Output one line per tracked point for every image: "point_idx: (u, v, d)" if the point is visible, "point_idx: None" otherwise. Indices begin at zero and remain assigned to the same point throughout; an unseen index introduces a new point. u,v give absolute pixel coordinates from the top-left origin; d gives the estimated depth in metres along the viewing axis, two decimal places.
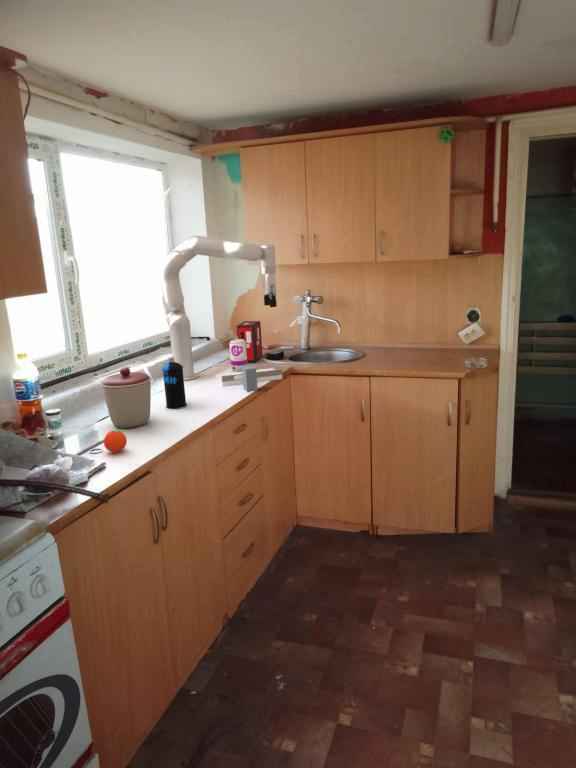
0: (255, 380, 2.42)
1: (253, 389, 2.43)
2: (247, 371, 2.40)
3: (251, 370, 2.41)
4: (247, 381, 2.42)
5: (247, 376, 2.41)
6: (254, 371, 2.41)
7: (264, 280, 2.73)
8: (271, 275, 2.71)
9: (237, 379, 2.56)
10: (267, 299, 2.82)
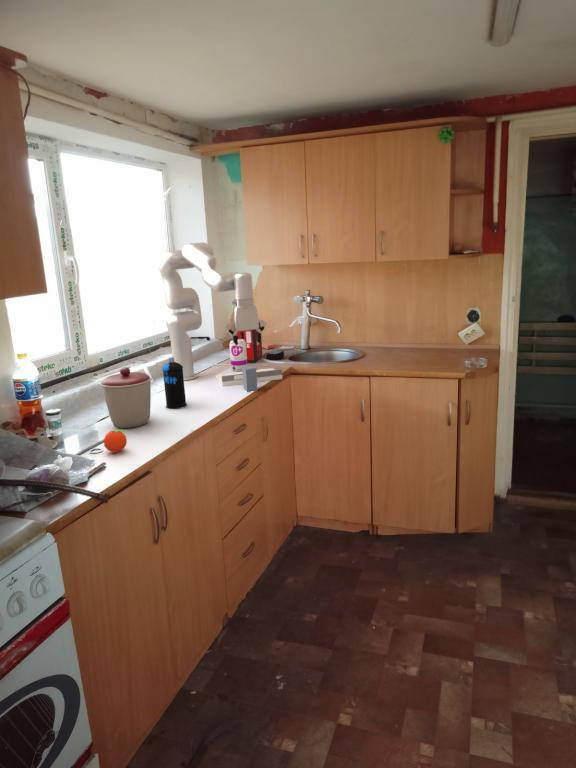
0: (255, 380, 2.42)
1: (253, 389, 2.43)
2: (247, 371, 2.40)
3: (251, 370, 2.41)
4: (247, 381, 2.42)
5: (247, 376, 2.41)
6: (254, 371, 2.41)
7: (251, 313, 2.36)
8: None
9: (237, 379, 2.56)
10: None
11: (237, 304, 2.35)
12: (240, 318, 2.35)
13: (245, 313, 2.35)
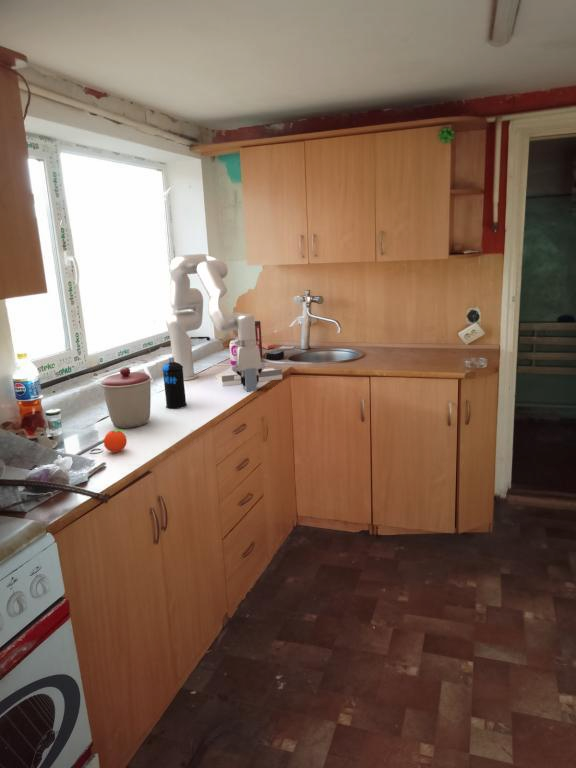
0: (255, 380, 2.42)
1: (253, 389, 2.43)
2: (247, 371, 2.40)
3: (251, 370, 2.41)
4: (247, 381, 2.41)
5: (247, 376, 2.41)
6: (254, 371, 2.41)
7: (253, 354, 2.40)
8: None
9: (237, 379, 2.56)
10: None
11: (240, 345, 2.39)
12: (243, 358, 2.39)
13: (248, 353, 2.40)
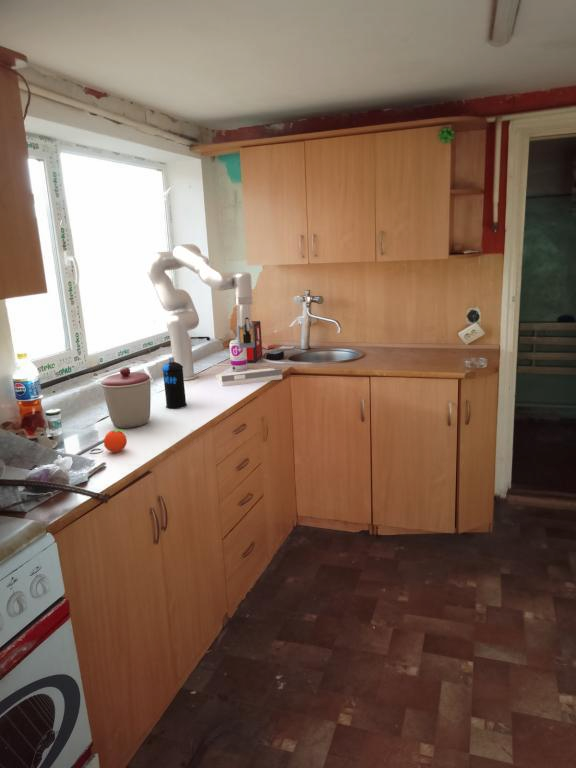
0: (238, 337, 2.52)
1: (238, 345, 2.54)
2: None
3: (237, 326, 2.52)
4: (237, 336, 2.55)
5: (237, 331, 2.54)
6: (238, 328, 2.51)
7: (239, 312, 2.49)
8: (246, 307, 2.46)
9: (237, 379, 2.56)
10: None
11: None
12: (237, 314, 2.53)
13: (237, 310, 2.51)
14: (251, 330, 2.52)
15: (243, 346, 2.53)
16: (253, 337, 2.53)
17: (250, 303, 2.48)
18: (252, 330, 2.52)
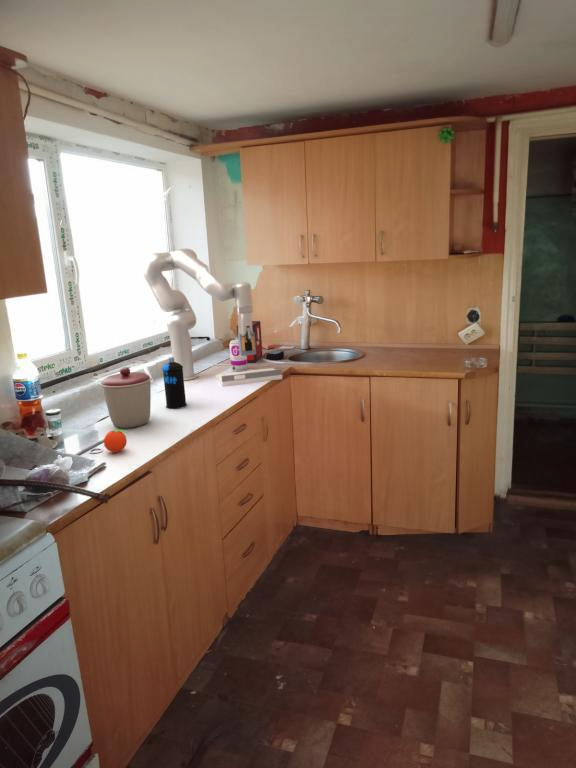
0: (240, 345, 2.60)
1: (240, 353, 2.62)
2: (238, 335, 2.62)
3: (239, 335, 2.60)
4: None
5: (238, 339, 2.62)
6: (239, 336, 2.59)
7: (240, 320, 2.57)
8: (247, 316, 2.54)
9: (237, 379, 2.56)
10: None
11: None
12: (238, 323, 2.61)
13: (238, 319, 2.59)
14: (252, 338, 2.60)
15: (245, 353, 2.61)
16: (254, 344, 2.61)
17: (250, 312, 2.56)
18: (253, 338, 2.60)
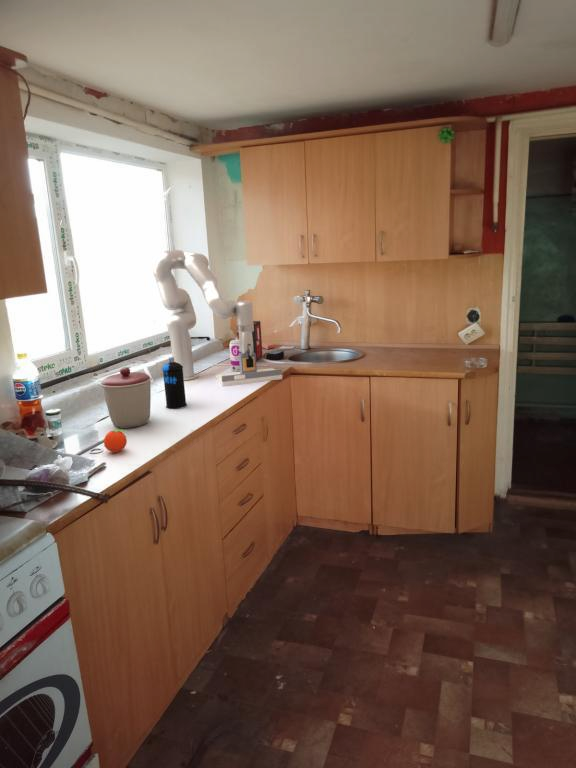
0: (241, 366, 2.62)
1: (241, 373, 2.64)
2: (239, 355, 2.64)
3: (240, 356, 2.62)
4: None
5: (239, 360, 2.65)
6: (240, 357, 2.61)
7: (241, 338, 2.59)
8: (248, 334, 2.57)
9: (237, 379, 2.56)
10: None
11: None
12: (239, 340, 2.63)
13: (239, 337, 2.61)
14: (253, 359, 2.62)
15: None
16: (255, 365, 2.63)
17: (252, 330, 2.58)
18: (254, 359, 2.62)
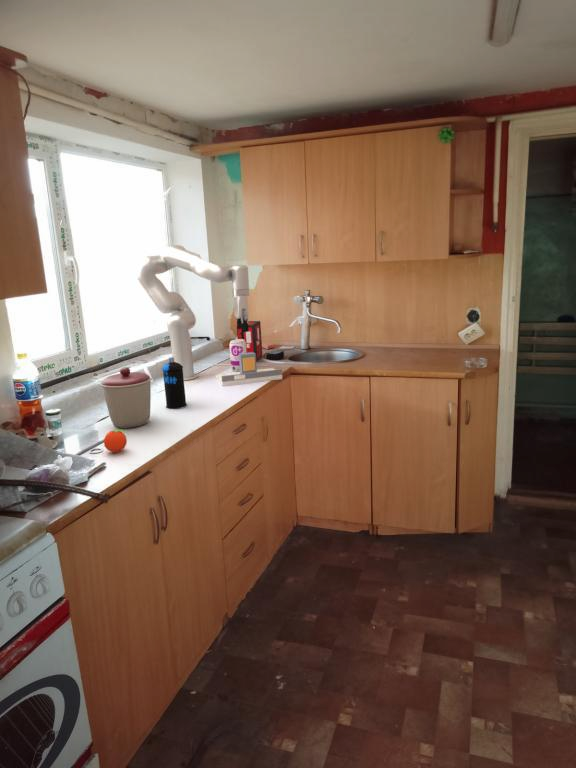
0: (241, 366, 2.62)
1: (241, 373, 2.64)
2: (239, 355, 2.64)
3: (240, 356, 2.62)
4: None
5: (239, 360, 2.65)
6: (240, 357, 2.61)
7: (236, 303, 2.56)
8: (243, 298, 2.54)
9: (237, 379, 2.56)
10: (240, 322, 2.65)
11: None
12: (234, 305, 2.61)
13: (235, 302, 2.58)
14: (253, 359, 2.62)
15: None
16: (255, 365, 2.63)
17: (247, 295, 2.56)
18: (254, 359, 2.62)
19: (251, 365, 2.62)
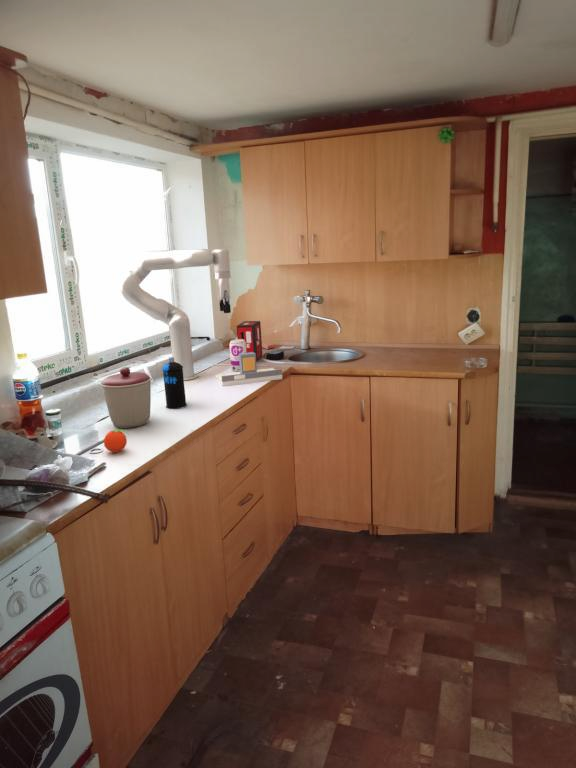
0: (241, 366, 2.62)
1: (241, 373, 2.64)
2: (239, 355, 2.64)
3: (240, 356, 2.62)
4: None
5: (239, 360, 2.65)
6: (240, 357, 2.61)
7: (218, 285, 2.65)
8: (225, 281, 2.63)
9: (237, 379, 2.56)
10: (223, 304, 2.74)
11: None
12: None
13: (217, 284, 2.67)
14: (253, 359, 2.62)
15: None
16: (255, 365, 2.63)
17: (228, 277, 2.65)
18: (254, 359, 2.62)
19: (251, 365, 2.62)
